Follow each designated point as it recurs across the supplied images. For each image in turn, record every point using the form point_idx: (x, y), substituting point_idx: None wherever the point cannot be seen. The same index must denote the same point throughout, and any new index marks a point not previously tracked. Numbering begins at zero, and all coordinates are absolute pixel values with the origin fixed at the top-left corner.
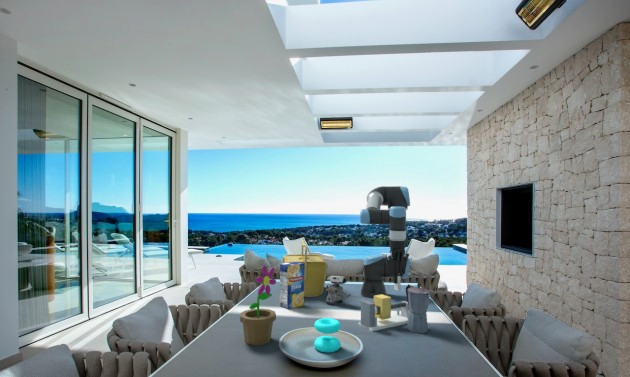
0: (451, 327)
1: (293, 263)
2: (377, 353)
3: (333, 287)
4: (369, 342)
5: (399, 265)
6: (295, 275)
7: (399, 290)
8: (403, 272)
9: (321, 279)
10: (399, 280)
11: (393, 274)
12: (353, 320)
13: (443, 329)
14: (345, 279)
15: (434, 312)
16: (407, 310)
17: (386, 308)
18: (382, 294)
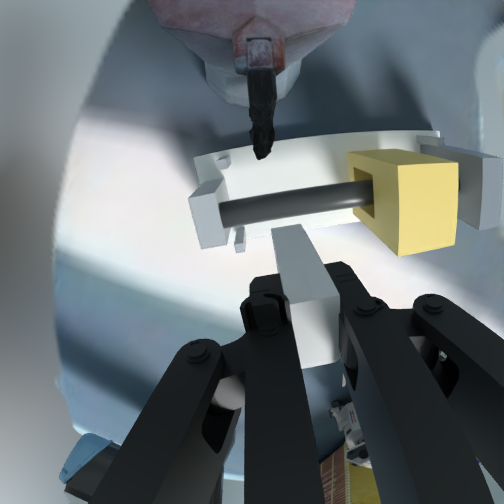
0: (99, 67)
1: (479, 464)
2: (469, 13)
3: None
4: (468, 67)
5: (323, 495)
6: None
7: (284, 227)
8: (212, 360)
9: (354, 470)
10: (301, 270)
11: (448, 303)
12: (422, 254)
13: (142, 48)
14: (363, 454)
15: (68, 241)
16: (219, 184)
17: (397, 155)
18: (399, 252)
